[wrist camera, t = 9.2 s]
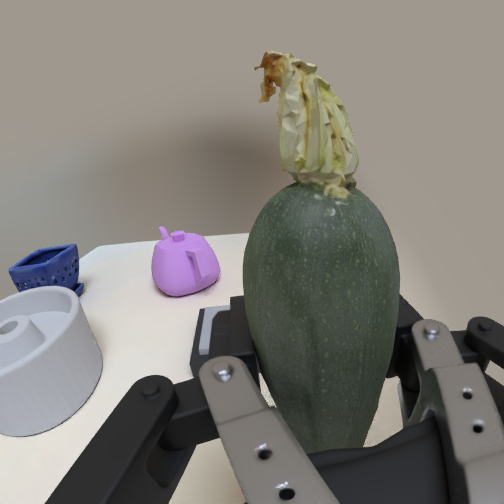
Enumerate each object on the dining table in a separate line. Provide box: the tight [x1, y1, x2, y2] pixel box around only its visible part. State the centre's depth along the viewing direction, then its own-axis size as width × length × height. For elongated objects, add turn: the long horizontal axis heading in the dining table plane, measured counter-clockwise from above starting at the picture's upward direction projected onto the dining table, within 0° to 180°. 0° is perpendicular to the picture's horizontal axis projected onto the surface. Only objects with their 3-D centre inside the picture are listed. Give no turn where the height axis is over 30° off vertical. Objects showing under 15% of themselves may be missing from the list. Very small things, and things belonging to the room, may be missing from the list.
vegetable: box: [243, 51, 400, 454], centre depth 9 cm, size 4×4×20 cm
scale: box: [190, 305, 261, 378], centre depth 40 cm, size 14×13×4 cm
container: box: [0, 286, 102, 436], centre depth 31 cm, size 25×25×10 cm
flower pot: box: [9, 244, 84, 296], centre depth 54 cm, size 13×13×12 cm
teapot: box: [151, 227, 220, 296], centre depth 59 cm, size 13×20×11 cm
